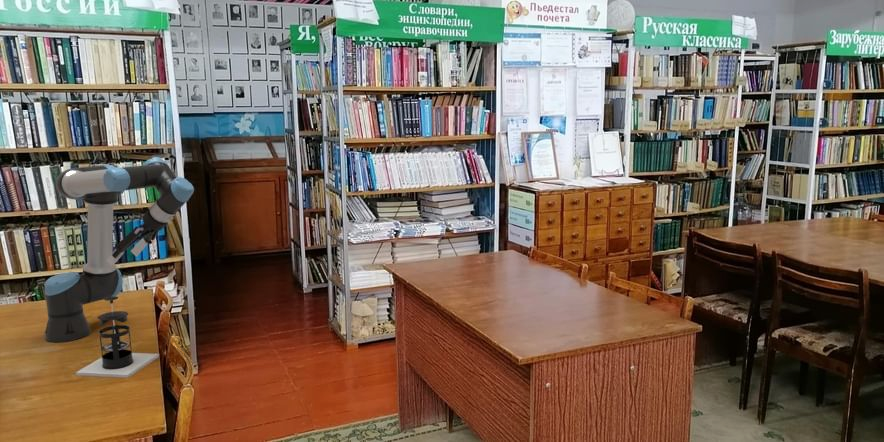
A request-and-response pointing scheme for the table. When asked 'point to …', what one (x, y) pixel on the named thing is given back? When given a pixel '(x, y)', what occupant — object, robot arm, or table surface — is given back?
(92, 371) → the white square mat
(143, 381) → the table surface
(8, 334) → the table surface
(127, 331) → the french press
